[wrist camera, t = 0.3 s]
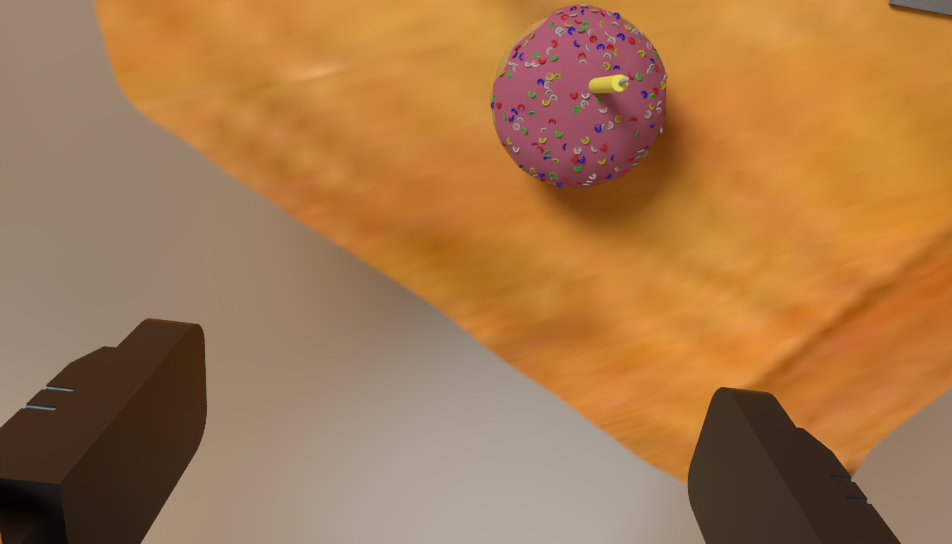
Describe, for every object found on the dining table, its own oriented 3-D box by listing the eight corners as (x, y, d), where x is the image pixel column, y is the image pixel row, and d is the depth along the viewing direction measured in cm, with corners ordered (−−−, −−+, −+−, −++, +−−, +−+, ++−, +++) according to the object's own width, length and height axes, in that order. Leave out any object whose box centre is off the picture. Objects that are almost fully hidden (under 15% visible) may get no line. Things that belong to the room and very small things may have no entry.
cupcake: (518, -17, 34) (536, -19, 23) (671, 32, 35) (757, 53, 24) (471, 142, 38) (467, 205, 27) (612, 184, 39) (665, 262, 28)
